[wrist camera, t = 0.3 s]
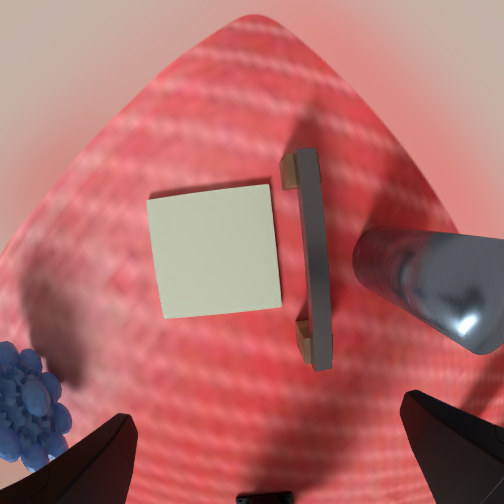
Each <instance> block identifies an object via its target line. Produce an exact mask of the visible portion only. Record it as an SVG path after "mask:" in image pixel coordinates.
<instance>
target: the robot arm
mask: <svg viewBox="0 0 504 504" xmlns="http://www.w3.org/2000/svg"><path fill="white" fill-rule="evenodd" d="M400 416H401V419H402V422H403V425H404V428H405V431H406V434H407V437H408V440H409V443H410V446H411V448H412V451H413V453H414V455H415V457H416V459H417V461H418V464H419V466H420V468H421V470H422V472H423V474H424V477H425V479H426V481H427V483H428V485H429V488H430V490H431V492H432V494H433V497H434V499H435V501H436V504H504V428H502V427H500V426H497V425H495V424H494V425H493V424H492V423H490V422H488V421H485V420H483V419H481V418H478V417H476V416H474V415H471V414H469V413H467V412H465V411H462V410H460V409H458V408H456V407H453V406H451V405H449V404H447V403H445V402H442V401H440V400H438V399H436V398H434V397H432V396H429V395H427V394H425V393H423V392H421V391H419V390H412V391H408V392H406V393H405V395H404V398H403V401H402V404H401V407H400ZM137 440H138V431H137V428H136V426H135V424H134V421H133V419H132V416H131V415H130V414H124V413H118V414H116V415H115V416H114V417H112V418H111V419H110V420H108V421H107V422H106V423H104V424H103V425H101V426H100V427H99V428H97V429H96V430H95V431H93V432H92V433H91V434H89V435H88V436H86V437H85V438H84V439H82V440H81V441H79V442H78V443H77V444H75V445H74V446H72V447H71V448H70V449H68V450H67V451H65V452H64V453H62V454H61V455H59V456H58V457H57V458H55V459H54V460H52V461H51V462H49V463H48V464H46V465H45V466H43V467H42V468H40V469H39V470H37V471H36V472H34V473H32V474H31V475H29V476H27V477H25V478H23V479H22V480H20V481H18V482H16V483H14V484H12V485H9V486H7V487H5V488H3V489H1V490H0V504H125V502H126V498H127V494H128V490H129V486H130V482H131V478H132V474H133V468H134V461H135V454H136V447H137ZM236 503H237V504H293V494H292V492H283V493H275V494H266V495H254V496H239V497H236Z"/></svg>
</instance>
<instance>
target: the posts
mask: <svg viewBox="0 0 504 504" xmlns="http://www.w3.org/2000/svg"><path fill="white" fill-rule="evenodd" d="M316 153H317V160H318V152H316ZM318 167H319V160H318ZM280 171H281V179H282V188H283V190H290V189H297V183H296V175H295V167H294V159H293V153H289V154H286V155H285V156H284V158H283V159H282V161H281V162H280ZM319 175H320V167H319ZM320 183H321V175H320ZM295 323H296V337H297V346H298V348H299V350H300V353H301V355H302V357H303V360H304V362H305V364H311V350H310V331H309V320H302V321H295ZM332 360H333V334H332Z"/></svg>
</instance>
